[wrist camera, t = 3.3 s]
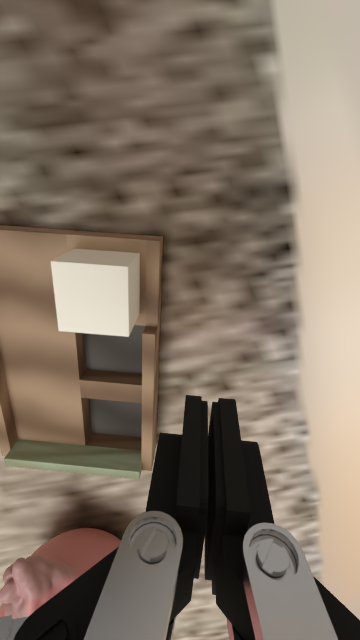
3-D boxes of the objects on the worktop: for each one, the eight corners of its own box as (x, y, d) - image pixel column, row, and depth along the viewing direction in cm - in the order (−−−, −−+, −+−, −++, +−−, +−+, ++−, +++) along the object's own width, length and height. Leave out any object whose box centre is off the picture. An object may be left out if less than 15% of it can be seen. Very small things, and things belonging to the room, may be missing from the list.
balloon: (127, 466, 36) (79, 651, 22) (166, 570, 44) (148, 756, 30) (5, 478, 38) (-109, 652, 24) (63, 575, 46) (1, 750, 32)
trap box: (-22, 223, 26) (-64, 232, 22) (163, 236, 25) (155, 247, 21) (20, 431, 35) (-5, 465, 31) (156, 444, 34) (149, 480, 30)
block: (73, 248, 24) (50, 261, 20) (139, 253, 24) (128, 266, 20) (78, 309, 26) (58, 331, 22) (139, 314, 26) (128, 336, 22)
